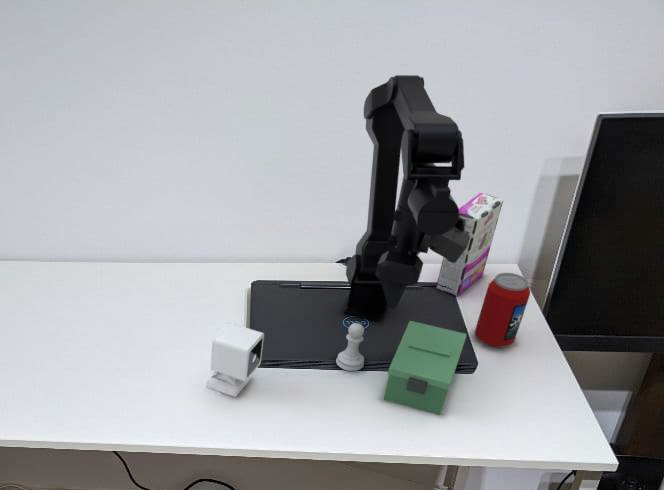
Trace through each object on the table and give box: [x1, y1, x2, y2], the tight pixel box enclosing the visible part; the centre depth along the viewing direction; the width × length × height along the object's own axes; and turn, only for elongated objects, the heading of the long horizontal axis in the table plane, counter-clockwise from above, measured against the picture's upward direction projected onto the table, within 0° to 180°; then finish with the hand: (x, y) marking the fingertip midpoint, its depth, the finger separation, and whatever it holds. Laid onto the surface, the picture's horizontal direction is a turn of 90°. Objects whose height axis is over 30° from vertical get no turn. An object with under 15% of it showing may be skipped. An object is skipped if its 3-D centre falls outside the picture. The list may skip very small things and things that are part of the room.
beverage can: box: [474, 272, 531, 348], centre depth 148 cm, size 7×7×12 cm
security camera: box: [205, 322, 265, 397], centre depth 138 cm, size 6×7×10 cm
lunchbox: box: [383, 320, 468, 416], centre depth 140 cm, size 9×16×7 cm, turn 153°
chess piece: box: [335, 322, 365, 372], centre depth 143 cm, size 5×5×8 cm
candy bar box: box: [435, 192, 504, 297], centre depth 162 cm, size 11×5×16 cm, turn 137°
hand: (397, 294), depth 138 cm, fingers open, 9 cm apart
